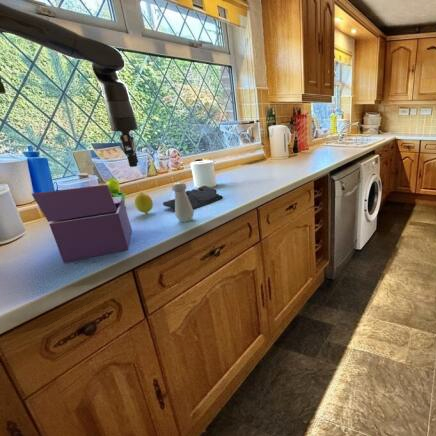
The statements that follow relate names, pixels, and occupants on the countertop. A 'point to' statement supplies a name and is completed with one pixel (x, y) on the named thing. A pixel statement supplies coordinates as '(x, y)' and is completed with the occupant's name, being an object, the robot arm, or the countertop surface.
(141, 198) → the lemon
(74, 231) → the carton
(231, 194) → the countertop surface
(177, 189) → the salt shaker
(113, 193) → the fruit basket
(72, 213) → the flap
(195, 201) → the dark slate chunk
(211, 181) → the toilet paper
